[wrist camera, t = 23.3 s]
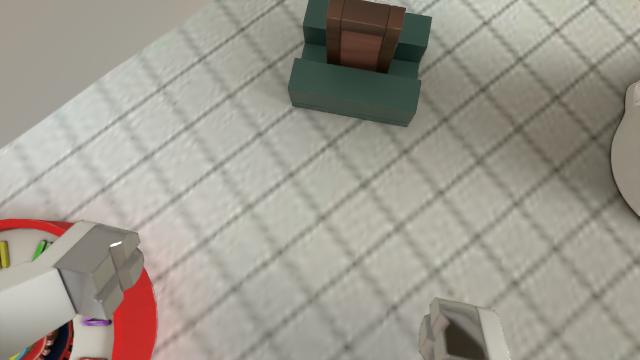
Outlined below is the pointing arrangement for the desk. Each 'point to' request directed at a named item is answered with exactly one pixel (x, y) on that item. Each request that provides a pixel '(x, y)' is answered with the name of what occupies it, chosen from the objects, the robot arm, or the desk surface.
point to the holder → (359, 74)
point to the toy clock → (82, 331)
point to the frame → (362, 34)
